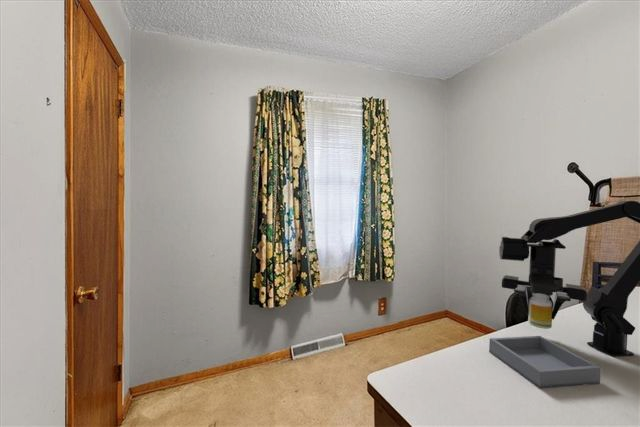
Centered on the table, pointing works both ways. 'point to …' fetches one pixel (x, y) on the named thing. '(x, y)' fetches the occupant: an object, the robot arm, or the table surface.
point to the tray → (544, 362)
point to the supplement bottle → (540, 311)
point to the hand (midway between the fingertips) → (539, 316)
